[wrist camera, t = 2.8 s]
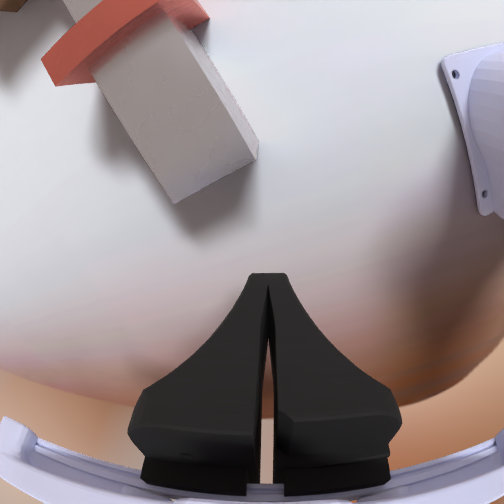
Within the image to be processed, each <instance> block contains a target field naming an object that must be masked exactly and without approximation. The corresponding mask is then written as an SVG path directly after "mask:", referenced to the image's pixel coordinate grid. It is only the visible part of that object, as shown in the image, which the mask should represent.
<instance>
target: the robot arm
mask: <svg viewBox="0 0 504 504" xmlns="http://www.w3.org/2000/svg"><path fill="white" fill-rule="evenodd" d="M441 66H442V69H443V71H444V74H445V77H446V79H447V82H448V85H449V88H450V91H451V94H452V97H453V100H454V103H455V106H456V109H457V112H458V116H459V119H460V123H461V126H462V130H463V134H464V138H465V142H466V146H467V150H468V155H469V159H470V164H471V169H472V174H473V180H474V186H475V192H476V199H477V206H478V211H479V213H480V214H482V215H483V216H487V215H489V214H491V213H493V212H495V213H496V214H497V215H499V216H500V217H501V218H502V219H504V43H499V44H494V45H489V46H485V47H480V48H476V49H472V50H467V51H463V52H460V53H456V54H452V55H448V56H445V57H443V58H442V60H441ZM452 71H454V72H455V74H456V77H455V78H453V76H452ZM483 191H484V194H483V195H482V192H483ZM268 338H269V347H270V357H271V366H272V376H273V387H274V447H273V448H274V449H273V484H260V459H261V457H260V456H261V417H262V388H263V378H264V370H265V362H266V354H267V345H268ZM401 425H402V418H401V414H400V411H399V407H398V405H397V403H396V400H395V398H394V396H393V394H392V392H391V390H390V389H389V388H388V387H386V386H384V385H383V384H381V383H380V382H378V381H377V380H375V379H373V378H372V377H370V376H369V375H367V374H366V373H364V372H363V371H362V370H361V369H359V368H358V367H357V366H355V365H354V364H353V363H352V362H351V361H350V360H349V359H347V358H346V357H345V356H344V355H343V354H342V353H341V352H340V351H338V350H337V349H336V347H335V346H334V345H333V344H332V343H331V342H330V341H329V340H328V339H327V338H326V337H325V336H324V335H323V333H322V332H321V331H320V330H319V329H318V327H317V326H316V325H315V323H314V322H313V321H312V319H311V318H310V317H309V315H308V314H307V312H306V311H305V309H304V308H303V306H302V304H301V303H300V301H299V300H298V298H297V296H296V294H295V292H294V290H293V289H292V286H291V284H290V282H289V280H288V277H287V275H286V274H285V273H252V274H251V275H249V277H248V280H247V283H246V285H245V287H244V289H243V291H242V293H241V295H240V296H239V298H238V300H237V301H236V303H235V305H234V306H233V308H232V309H231V311H230V312H229V314H228V315H227V317H226V318H225V319H224V321H223V322H222V324H221V325H220V326H219V327H218V329H217V330H216V331H215V332H214V333H213V334H212V336H211V337H210V338H209V339H208V340H207V341H206V342H205V343H204V344H203V345H202V346H201V347H200V348H199V349H198V350H197V351H196V352H195V353H194V354H193V355H192V356H191V357H189V358H188V359H187V360H186V361H185V362H183V363H182V364H181V365H180V366H178V367H177V368H176V369H175V370H173V371H172V372H171V373H169V374H168V375H166V376H165V377H163V378H162V379H160V380H159V381H157V382H156V383H154V384H152V385H151V386H149V387H147V388H146V389H144V390H143V391H142V393H141V395H140V397H139V399H138V401H137V404H136V406H135V408H134V411H133V414H132V417H131V420H130V424H129V427H128V435H129V437H130V439H131V440H132V442H133V443H134V444H135V445H136V446H137V448H138V449H139V450H140V451H141V452H142V453H143V454H144V456H145V459H144V463H143V467H142V470H137V469H133V468H129V467H125V466H121V465H117V464H113V463H109V462H106V461H102V460H99V459H96V458H93V457H90V456H86V455H83V454H80V453H77V452H74V451H72V450H69V449H66V448H63V447H61V446H58V445H56V444H53V443H50V442H48V441H45V440H43V439H41V438H38V437H37V436H36V434H35V433H34V432H33V431H31V430H30V429H29V428H28V427H26V426H25V425H23V424H21V423H19V422H17V421H15V420H13V419H11V418H9V417H7V416H4V417H3V419H2V421H1V423H0V478H2V479H4V480H5V481H7V482H8V483H10V484H11V485H13V486H15V487H16V488H18V489H20V490H21V491H23V492H25V493H26V494H28V495H30V496H32V497H33V498H35V499H37V500H39V501H41V502H43V503H45V504H489V503H491V502H493V501H495V500H496V499H498V498H500V497H502V496H504V428H503V429H502V430H501V431H500V432H499V433H498V434H497V435H496V437H495V438H492V439H490V440H488V441H485V442H483V443H481V444H478V445H476V446H473V447H470V448H468V449H465V450H463V451H460V452H457V453H454V454H451V455H448V456H445V457H442V458H438V459H435V460H432V461H428V462H425V463H421V464H418V465H414V466H410V467H406V468H402V469H397V470H393V471H390V470H389V464H388V459H387V457H389V456H390V450H389V445H388V443H389V442H390V441H391V439H392V438H393V437H394V436H395V434H396V433H397V432H398V430H399V429H400V427H401ZM170 498H171V499H177V500H175V501H174V502H173V501H172V500H171V499H170ZM352 500H357V502H356V503H351V502H350V501H352Z"/></svg>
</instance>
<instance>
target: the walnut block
mask: <svg viewBox="0 0 504 504" xmlns="http://www.w3.org/2000/svg"><path fill="white" fill-rule="evenodd" d="M26 1H27V0H0V11H9V12H17V11H18V10H19V9H20V8H21V7H22V5H23V4H24V3H25V2H26Z"/></svg>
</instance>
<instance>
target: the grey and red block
mask: <svg viewBox="0 0 504 504" xmlns="http://www.w3.org/2000/svg"><path fill="white" fill-rule="evenodd" d="M63 2H64V4H65V5H66V7H67V9H68V11H69V12H70V14H71V16H72V18H73V19H74V21H75V23H76V24H75V25H74V26H73V27H72V28H71V29H70V30H68V31H67V32H66V33H65V34H64V35H63V36H62V37H61V38H60V39H59V40H58V41H57V42H56V43H55V44H54V45H53V46H52V48H51V49H50V50H49V51H48V52H47V53H46V54H45V55H44V56H43V57H42V58H41V60H42V62H43V64H44V66H45V68H46V70H47V72H48V74H49V75H50V77H51V79H52V81H53V83H54V85H55V86H64V85H72V84H82V83H94V82H96V83H97V84H98V86H99V88H100V89H101V91H102V93H103V94H104V96H105V97H106V99H107V101H108V102H109V104H110V106H111V107H112V109H113V111H114V112H115V114H116V115H117V117H118V119H119V120H120V122H121V123H122V125H123V127H124V128H125V130H126V131H127V133H128V135H129V136H130V138H131V139H132V141H133V142H134V144H135V146H136V147H137V149H138V150H139V152H140V153H141V155H142V157H143V158H144V160H145V161H146V163H147V164H148V166H149V167H150V169H151V170H152V172H153V174H154V175H155V177H156V178H157V180H158V181H159V183H160V184H161V186H162V187H163V189H164V190H165V192H166V193H167V195H168V196H169V198H170V199H171V201H172V202H173V204H176V203H178V202H179V201H181V200H183V199H185V198H186V197H188V196H190V195H192V194H194V193H195V192H197V191H199V190H201V189H202V188H204V187H206V186H208V185H210V184H212V183H213V182H215V181H217V180H219V179H221V178H223V177H225V176H226V175H228V174H230V173H232V172H234V171H236V170H238V169H240V168H242V167H244V166H246V165H248V164H250V163H252V162H253V161H255V160H256V157H257V151H258V144H259V140H258V138H257V136H256V135H255V133H254V131H253V129H252V128H251V126H250V124H249V122H248V121H247V119H246V117H245V115H244V114H243V112H242V110H241V109H240V107H239V105H238V103H237V102H236V100H235V98H234V97H233V95H232V93H231V92H230V90H229V88H228V87H227V85H226V83H225V82H224V80H223V79H222V77H221V75H220V74H219V72H218V70H217V69H216V67H215V66H214V64H213V62H212V61H211V59H210V58H209V56H208V54H207V53H206V51H205V50H204V48H203V47H202V45H201V43H200V42H199V40H198V39H197V37H196V36H195V34H194V33H193V31H192V30H191V29H192V28H193V27H195V26H197V25H198V24H200V23H202V22H204V21H206V20H207V19H209V16H208V15H207V13H206V12H205V10H204V9H203V7H202V6H201V5H200V3H199V2H198V0H63Z"/></svg>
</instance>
